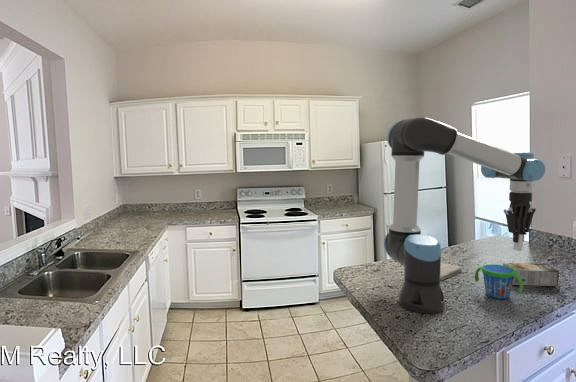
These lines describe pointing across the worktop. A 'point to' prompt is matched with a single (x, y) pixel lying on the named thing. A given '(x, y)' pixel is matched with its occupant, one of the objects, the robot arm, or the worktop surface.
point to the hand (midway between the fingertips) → (517, 249)
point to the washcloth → (448, 270)
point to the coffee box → (535, 274)
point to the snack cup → (498, 280)
